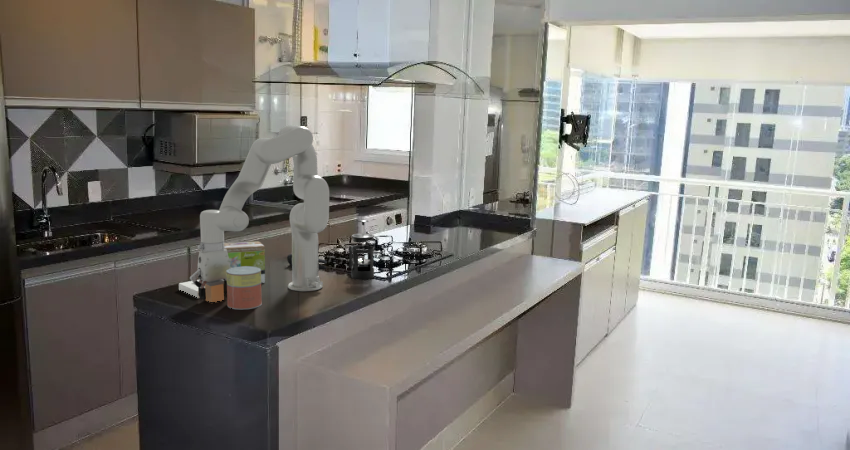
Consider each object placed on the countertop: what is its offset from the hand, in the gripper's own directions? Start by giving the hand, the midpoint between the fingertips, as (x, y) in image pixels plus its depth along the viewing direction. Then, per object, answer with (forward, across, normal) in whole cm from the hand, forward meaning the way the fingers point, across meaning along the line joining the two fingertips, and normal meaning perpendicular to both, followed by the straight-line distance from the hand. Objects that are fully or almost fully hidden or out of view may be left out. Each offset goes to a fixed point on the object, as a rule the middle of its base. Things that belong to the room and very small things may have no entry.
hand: (214, 296), depth 223 cm
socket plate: (+1, +4, +13) cm, 14 cm away
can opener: (+2, +52, +18) cm, 55 cm away
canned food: (+2, +5, -11) cm, 12 cm away
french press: (+2, +59, -9) cm, 60 cm away
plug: (+2, 0, 0) cm, 2 cm away
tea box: (+2, +20, +15) cm, 25 cm away
